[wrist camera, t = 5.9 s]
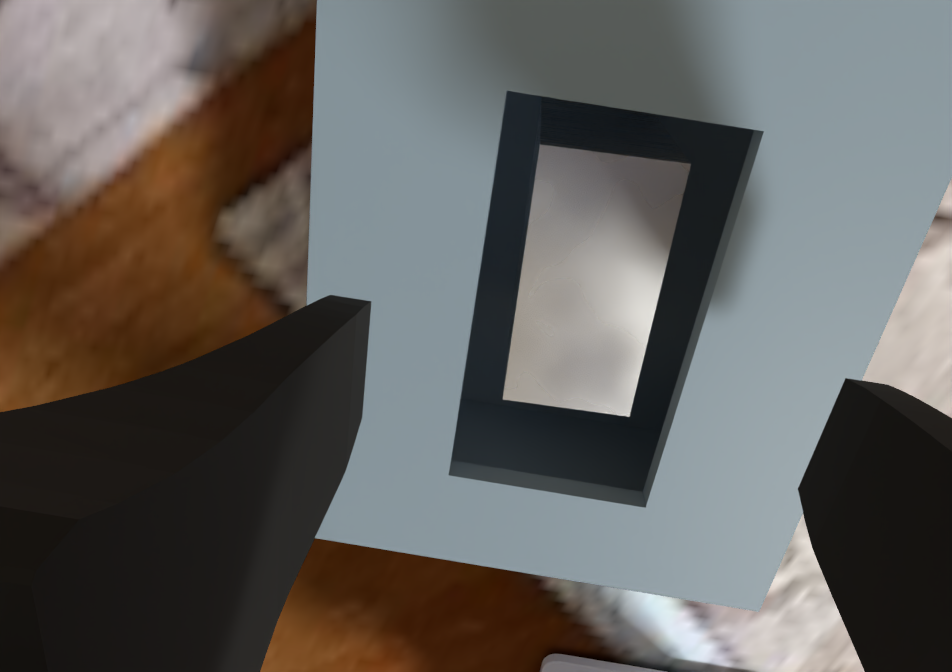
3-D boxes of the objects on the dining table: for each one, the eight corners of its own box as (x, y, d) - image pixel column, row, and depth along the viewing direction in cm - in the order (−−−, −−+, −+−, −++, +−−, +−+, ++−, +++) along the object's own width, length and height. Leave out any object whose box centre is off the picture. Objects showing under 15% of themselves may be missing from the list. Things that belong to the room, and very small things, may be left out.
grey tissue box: (705, 446, 21) (759, 611, 16) (360, 390, 21) (298, 535, 16) (863, -13, 16) (1028, 2, 10) (397, -85, 16) (320, -107, 10)
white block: (609, 309, 19) (629, 416, 14) (512, 296, 19) (502, 399, 14) (652, 109, 17) (691, 163, 12) (541, 95, 17) (540, 144, 12)
